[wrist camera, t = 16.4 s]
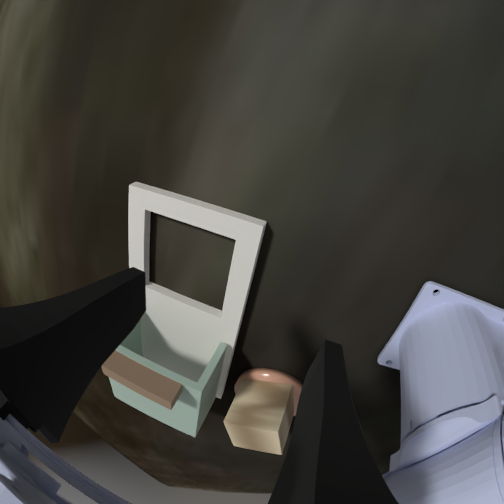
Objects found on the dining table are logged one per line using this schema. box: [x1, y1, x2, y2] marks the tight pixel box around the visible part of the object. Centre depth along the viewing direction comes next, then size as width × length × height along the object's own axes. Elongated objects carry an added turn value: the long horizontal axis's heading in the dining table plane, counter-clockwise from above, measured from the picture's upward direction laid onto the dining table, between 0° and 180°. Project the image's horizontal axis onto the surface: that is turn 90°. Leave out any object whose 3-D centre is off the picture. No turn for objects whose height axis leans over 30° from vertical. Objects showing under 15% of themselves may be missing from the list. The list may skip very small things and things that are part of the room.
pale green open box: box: [102, 320, 227, 437], centre depth 24 cm, size 9×9×7 cm
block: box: [224, 378, 294, 455], centre depth 24 cm, size 4×4×5 cm
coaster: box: [234, 368, 303, 416], centre depth 27 cm, size 7×7×1 cm
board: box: [129, 182, 267, 399], centre depth 25 cm, size 10×20×1 cm, turn 168°
